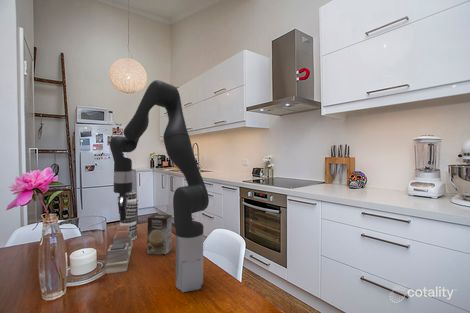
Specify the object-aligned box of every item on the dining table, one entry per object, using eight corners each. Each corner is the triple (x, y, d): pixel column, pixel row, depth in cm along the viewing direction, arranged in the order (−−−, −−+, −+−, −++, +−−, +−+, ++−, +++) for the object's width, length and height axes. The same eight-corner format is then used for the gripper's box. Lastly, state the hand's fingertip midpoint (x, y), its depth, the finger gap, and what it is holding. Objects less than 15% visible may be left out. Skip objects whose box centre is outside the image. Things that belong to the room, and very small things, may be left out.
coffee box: (146, 254, 101) (146, 217, 101) (153, 248, 108) (153, 213, 107) (166, 255, 100) (166, 218, 100) (172, 249, 107) (172, 214, 106)
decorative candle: (119, 236, 123) (119, 188, 122) (138, 234, 125) (138, 188, 125) (116, 242, 114) (116, 191, 114) (136, 240, 117) (136, 191, 116)
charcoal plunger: (123, 259, 89) (123, 247, 89) (111, 261, 87) (111, 248, 87) (125, 254, 93) (125, 243, 93) (113, 256, 92) (113, 244, 92)
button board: (126, 270, 87) (126, 250, 87) (105, 273, 84) (105, 253, 84) (132, 246, 109) (132, 230, 109) (115, 248, 107) (115, 232, 107)
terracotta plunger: (127, 238, 102) (127, 228, 102) (116, 239, 101) (116, 229, 100) (128, 235, 106) (128, 225, 106) (118, 236, 105) (118, 226, 105)
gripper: (130, 183, 98) (130, 223, 98) (133, 179, 110) (133, 215, 111) (111, 183, 96) (110, 225, 96) (116, 179, 108) (115, 216, 108)
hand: (123, 220), depth 103 cm, fingers closed
